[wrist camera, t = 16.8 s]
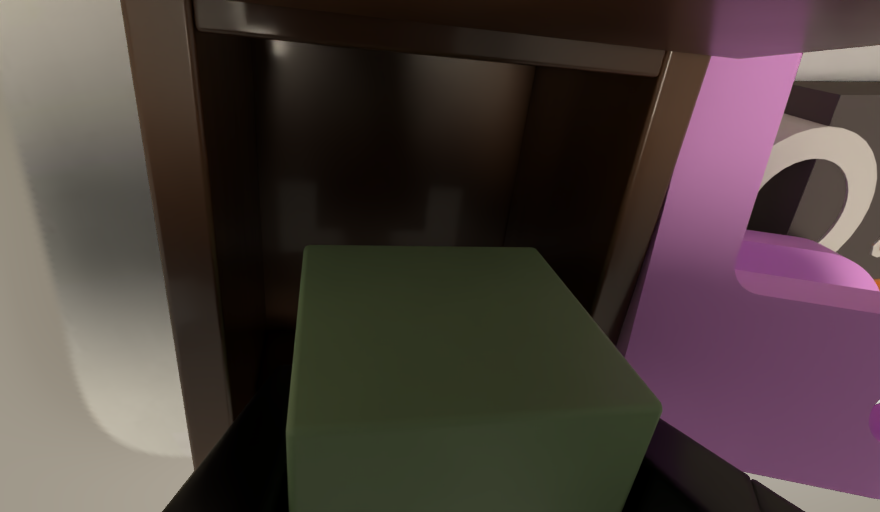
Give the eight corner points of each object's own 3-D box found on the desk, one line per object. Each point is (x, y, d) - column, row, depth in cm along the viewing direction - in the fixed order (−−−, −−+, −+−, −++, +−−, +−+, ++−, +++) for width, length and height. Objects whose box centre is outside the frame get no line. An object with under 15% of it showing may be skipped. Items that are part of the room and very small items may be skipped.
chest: (500, 330, 17) (574, 476, 12) (242, 337, 15) (199, 513, 10) (563, 12, 12) (724, 27, 7) (213, -32, 11) (108, -54, 6)
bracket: (579, 325, 16) (821, 367, 15) (602, 442, 10) (981, 520, 9) (694, -189, 11) (1046, -177, 10) (832, -432, 6) (1571, -453, 5)
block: (535, 245, 9) (669, 405, 5) (500, 413, 11) (582, 615, 7) (303, 242, 8) (284, 432, 5) (306, 426, 10) (294, 664, 6)
